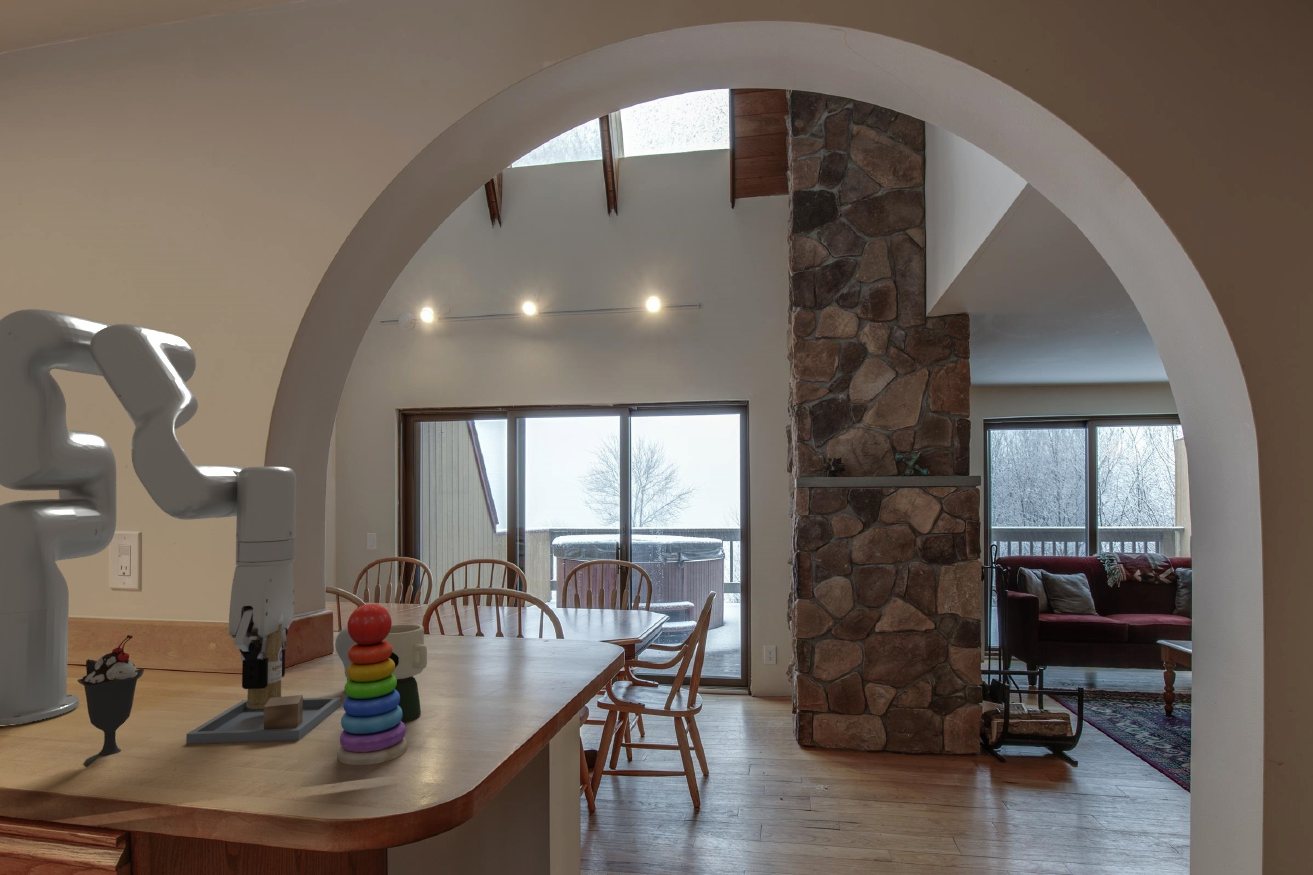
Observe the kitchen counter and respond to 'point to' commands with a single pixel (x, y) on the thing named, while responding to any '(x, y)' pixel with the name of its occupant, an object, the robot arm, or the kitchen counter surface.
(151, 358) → the robot arm
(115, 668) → the sundae
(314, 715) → the slate tray
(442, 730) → the kitchen counter surface
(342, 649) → the lightbulb
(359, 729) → the stacking toy
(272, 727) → the walnut block
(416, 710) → the character mug
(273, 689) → the sprinkles bottle
